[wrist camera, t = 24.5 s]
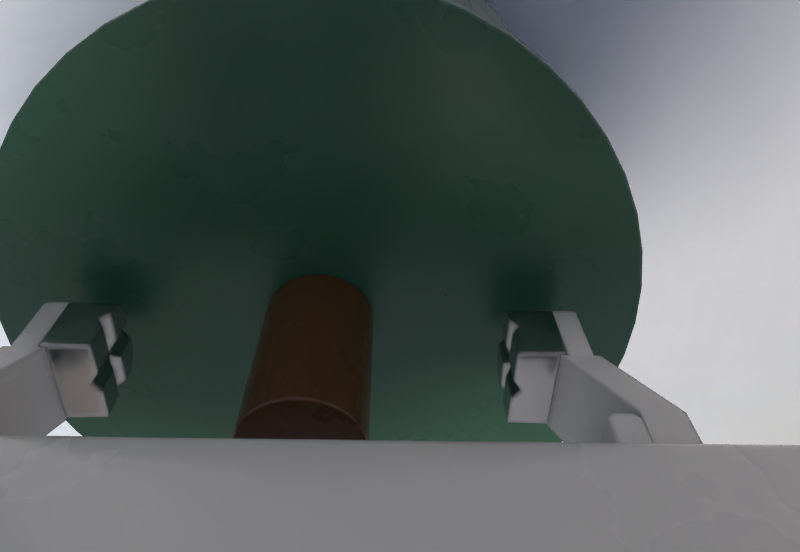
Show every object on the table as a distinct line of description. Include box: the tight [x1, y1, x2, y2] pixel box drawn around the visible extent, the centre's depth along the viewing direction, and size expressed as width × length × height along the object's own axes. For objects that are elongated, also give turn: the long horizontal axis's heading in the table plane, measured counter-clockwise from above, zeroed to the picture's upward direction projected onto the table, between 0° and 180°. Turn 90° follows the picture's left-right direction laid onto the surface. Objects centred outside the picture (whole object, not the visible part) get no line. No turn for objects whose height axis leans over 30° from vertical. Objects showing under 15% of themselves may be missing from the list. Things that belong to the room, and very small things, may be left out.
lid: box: [0, 0, 642, 442], centre depth 14 cm, size 14×14×5 cm
